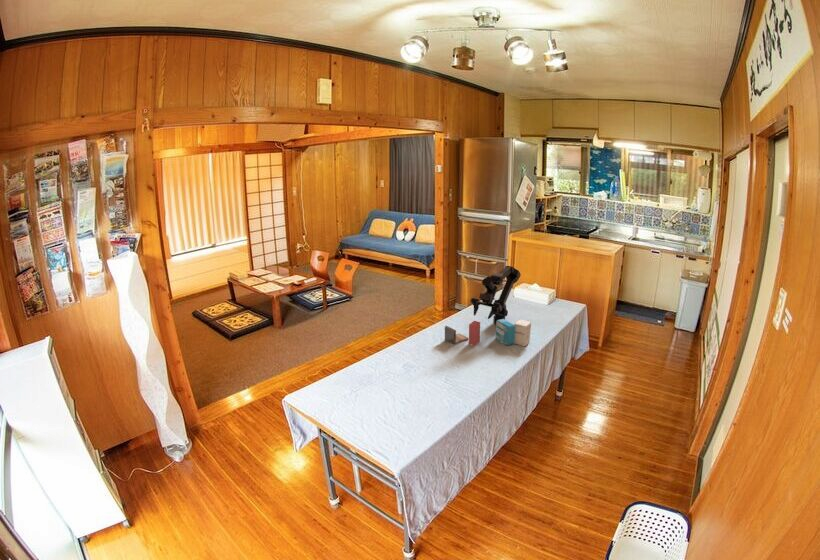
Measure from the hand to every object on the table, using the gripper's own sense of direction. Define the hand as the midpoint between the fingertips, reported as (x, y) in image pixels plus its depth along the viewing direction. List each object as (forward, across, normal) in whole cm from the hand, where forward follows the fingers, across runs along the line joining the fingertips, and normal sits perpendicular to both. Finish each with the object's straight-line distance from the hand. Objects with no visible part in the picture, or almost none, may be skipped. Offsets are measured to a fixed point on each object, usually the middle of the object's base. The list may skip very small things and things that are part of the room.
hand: (481, 317), depth 248 cm
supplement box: (+4, +22, +15) cm, 27 cm away
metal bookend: (+20, -12, -1) cm, 23 cm away
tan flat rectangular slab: (+16, -10, +3) cm, 19 cm away
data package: (+7, +14, +12) cm, 20 cm away
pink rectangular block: (+15, 0, +4) cm, 16 cm away
